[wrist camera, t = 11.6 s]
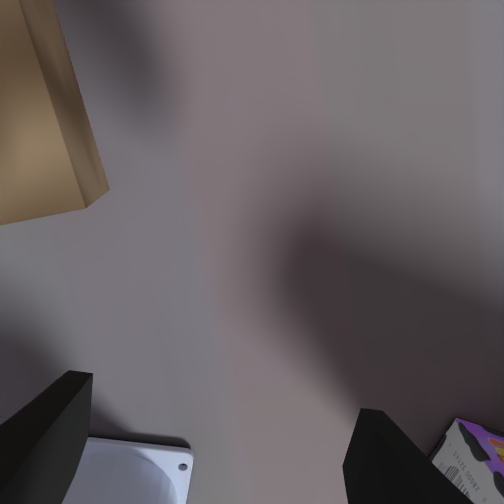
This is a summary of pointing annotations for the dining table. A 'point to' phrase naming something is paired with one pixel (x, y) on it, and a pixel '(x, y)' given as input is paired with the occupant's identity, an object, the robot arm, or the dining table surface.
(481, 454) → the candy box
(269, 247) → the dining table surface
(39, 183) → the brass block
